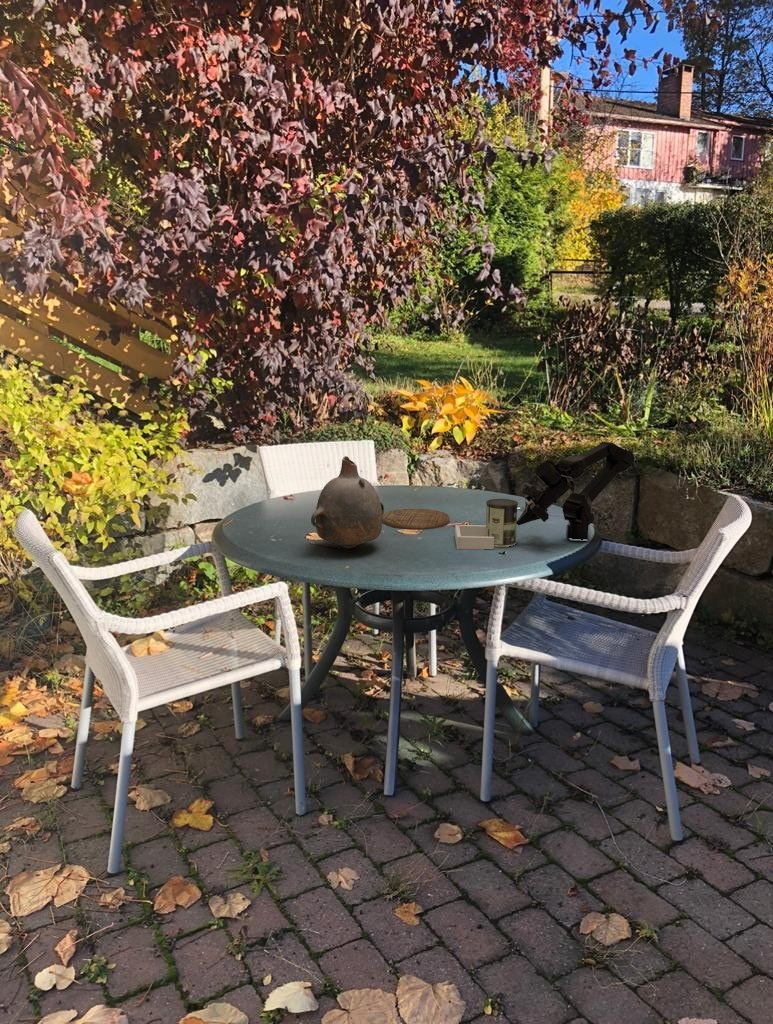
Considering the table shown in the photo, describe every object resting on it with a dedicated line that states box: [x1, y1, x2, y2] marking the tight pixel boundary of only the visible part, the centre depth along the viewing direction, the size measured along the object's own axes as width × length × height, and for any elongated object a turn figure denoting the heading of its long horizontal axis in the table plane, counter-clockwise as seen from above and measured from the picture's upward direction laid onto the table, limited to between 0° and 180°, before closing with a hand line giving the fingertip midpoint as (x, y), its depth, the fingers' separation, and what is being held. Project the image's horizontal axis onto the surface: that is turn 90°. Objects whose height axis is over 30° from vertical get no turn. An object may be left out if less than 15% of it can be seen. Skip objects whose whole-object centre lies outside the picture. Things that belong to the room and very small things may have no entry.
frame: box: [454, 524, 495, 550], centre depth 264 cm, size 12×15×4 cm
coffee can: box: [485, 498, 519, 548], centre depth 262 cm, size 10×10×14 cm
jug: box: [310, 455, 385, 550], centre depth 254 cm, size 24×21×30 cm
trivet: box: [382, 508, 450, 531], centre depth 292 cm, size 25×25×2 cm
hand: (517, 524), depth 262 cm, fingers closed
